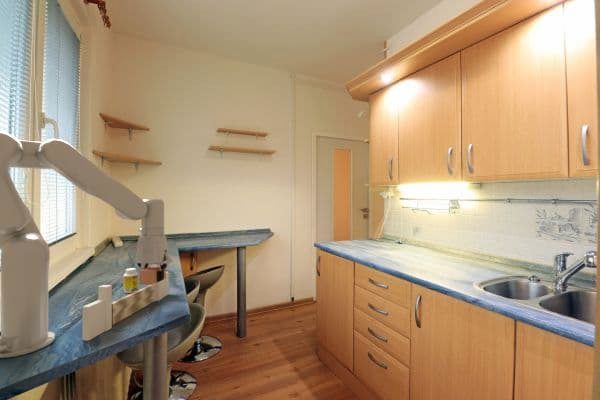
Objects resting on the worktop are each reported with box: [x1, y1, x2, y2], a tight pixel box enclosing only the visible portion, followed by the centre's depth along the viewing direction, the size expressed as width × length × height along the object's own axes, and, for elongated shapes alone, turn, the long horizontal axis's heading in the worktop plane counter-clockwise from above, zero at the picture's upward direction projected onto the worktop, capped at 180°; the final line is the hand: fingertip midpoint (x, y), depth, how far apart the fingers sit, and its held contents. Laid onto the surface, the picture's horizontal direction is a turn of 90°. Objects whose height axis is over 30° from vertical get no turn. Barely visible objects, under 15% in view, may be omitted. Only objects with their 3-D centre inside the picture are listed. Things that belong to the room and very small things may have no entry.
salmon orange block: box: [138, 264, 167, 286], centre depth 103 cm, size 8×5×5 cm, turn 173°
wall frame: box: [81, 271, 170, 342], centre depth 101 cm, size 40×3×14 cm, turn 173°
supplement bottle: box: [122, 267, 139, 294], centre depth 124 cm, size 6×6×10 cm
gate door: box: [112, 284, 157, 326], centre depth 102 cm, size 24×1×7 cm, turn 173°
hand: (153, 280), depth 103 cm, fingers closed on salmon orange block, 5 cm apart
